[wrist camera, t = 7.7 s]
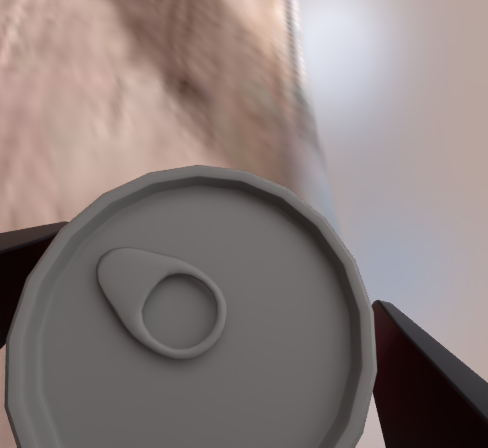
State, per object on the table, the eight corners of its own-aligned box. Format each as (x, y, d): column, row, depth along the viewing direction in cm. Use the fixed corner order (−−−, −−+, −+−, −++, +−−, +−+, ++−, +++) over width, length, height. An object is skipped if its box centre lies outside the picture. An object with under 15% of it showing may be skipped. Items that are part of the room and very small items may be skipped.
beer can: (200, 241, 17) (158, 82, 6) (294, 301, 16) (467, 259, 5) (127, 342, 15) (-166, 413, 4) (233, 416, 14) (283, 802, 3)
